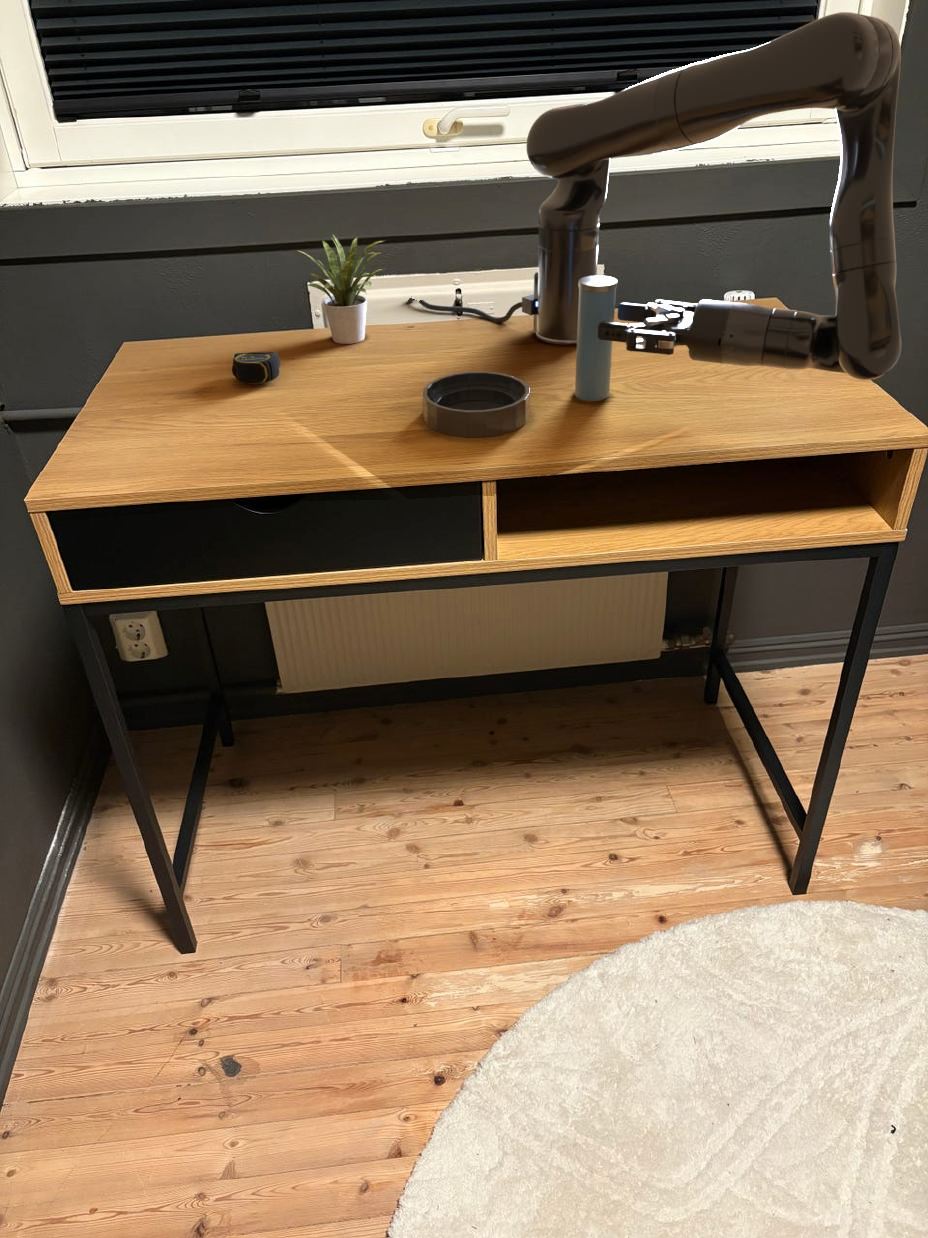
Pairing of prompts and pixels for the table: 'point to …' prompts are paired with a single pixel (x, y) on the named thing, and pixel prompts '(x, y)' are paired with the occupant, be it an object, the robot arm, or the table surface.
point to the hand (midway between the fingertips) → (608, 320)
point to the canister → (594, 337)
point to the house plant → (345, 293)
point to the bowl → (476, 404)
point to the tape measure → (256, 367)
